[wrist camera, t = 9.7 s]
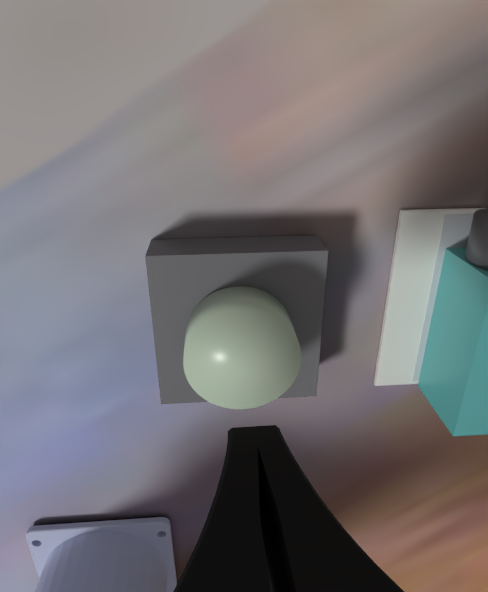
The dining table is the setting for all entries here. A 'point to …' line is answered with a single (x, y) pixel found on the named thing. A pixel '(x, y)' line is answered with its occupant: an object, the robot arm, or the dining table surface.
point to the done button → (240, 348)
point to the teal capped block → (460, 337)
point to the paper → (416, 288)
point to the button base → (231, 273)
